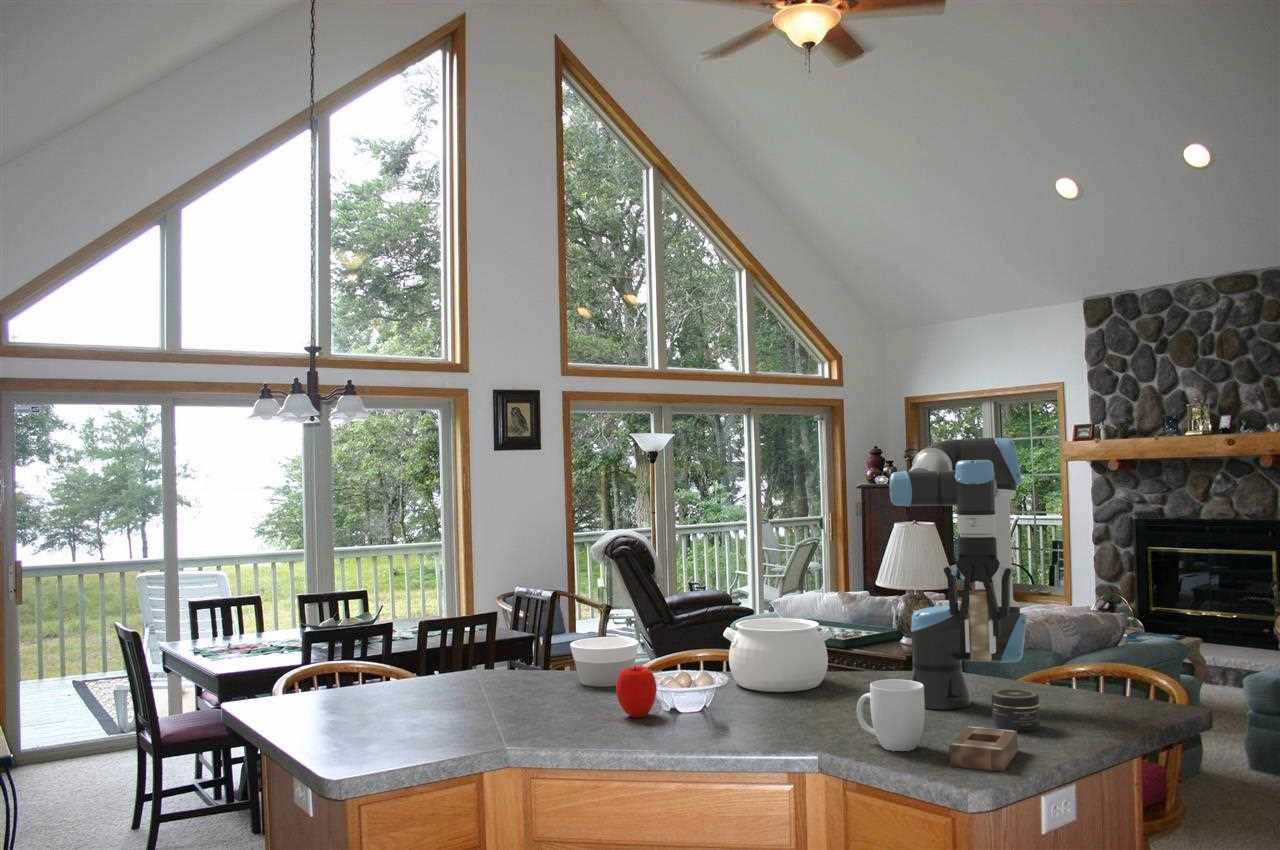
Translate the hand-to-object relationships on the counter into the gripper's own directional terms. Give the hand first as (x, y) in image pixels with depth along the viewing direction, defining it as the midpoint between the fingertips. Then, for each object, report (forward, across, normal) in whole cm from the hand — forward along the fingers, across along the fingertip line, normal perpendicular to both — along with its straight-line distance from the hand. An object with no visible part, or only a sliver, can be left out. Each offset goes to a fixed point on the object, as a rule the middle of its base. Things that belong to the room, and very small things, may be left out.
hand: (980, 651), depth 215 cm
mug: (+21, -18, -1) cm, 28 cm away
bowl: (+20, -109, +34) cm, 116 cm away
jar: (+20, +2, +25) cm, 32 cm away
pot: (+20, -63, +48) cm, 82 cm away
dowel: (+2, 0, 0) cm, 2 cm away
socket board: (+21, 0, -2) cm, 21 cm away
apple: (+21, -81, +2) cm, 84 cm away
